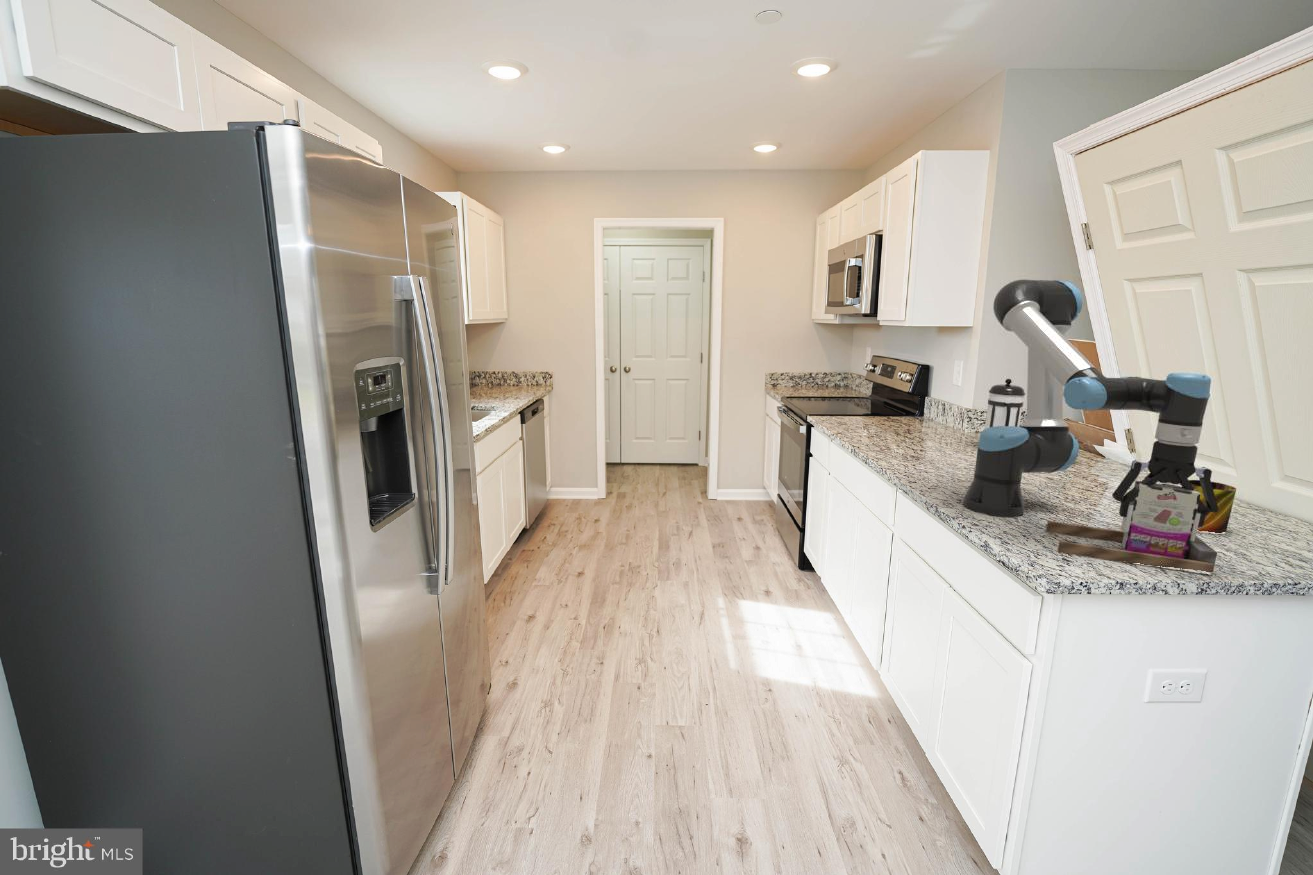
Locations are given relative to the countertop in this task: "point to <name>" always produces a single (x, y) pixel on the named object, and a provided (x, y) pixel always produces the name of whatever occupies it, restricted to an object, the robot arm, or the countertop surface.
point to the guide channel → (1196, 557)
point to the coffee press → (1004, 405)
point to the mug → (1224, 501)
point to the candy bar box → (1161, 520)
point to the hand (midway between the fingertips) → (1156, 534)
